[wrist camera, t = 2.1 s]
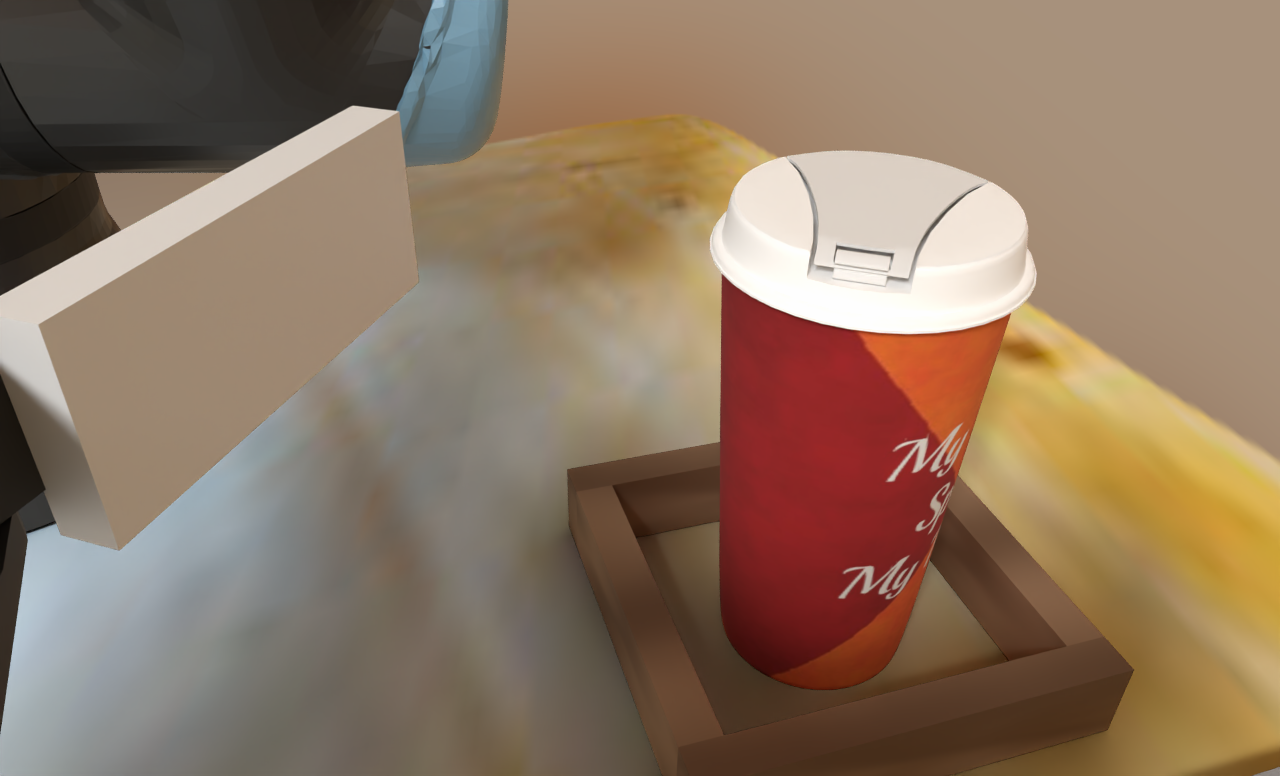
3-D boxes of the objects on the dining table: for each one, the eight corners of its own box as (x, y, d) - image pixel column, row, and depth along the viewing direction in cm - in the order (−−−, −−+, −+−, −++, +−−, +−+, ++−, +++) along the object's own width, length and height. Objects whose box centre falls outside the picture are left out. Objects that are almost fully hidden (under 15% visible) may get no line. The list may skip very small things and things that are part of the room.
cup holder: (568, 525, 34) (567, 469, 33) (888, 464, 38) (898, 410, 36) (690, 850, 25) (695, 789, 23) (1107, 729, 28) (1134, 669, 26)
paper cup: (928, 752, 27) (1058, 301, 19) (657, 683, 29) (675, 245, 21) (941, 560, 33) (1044, 160, 26) (717, 513, 35) (749, 126, 27)
